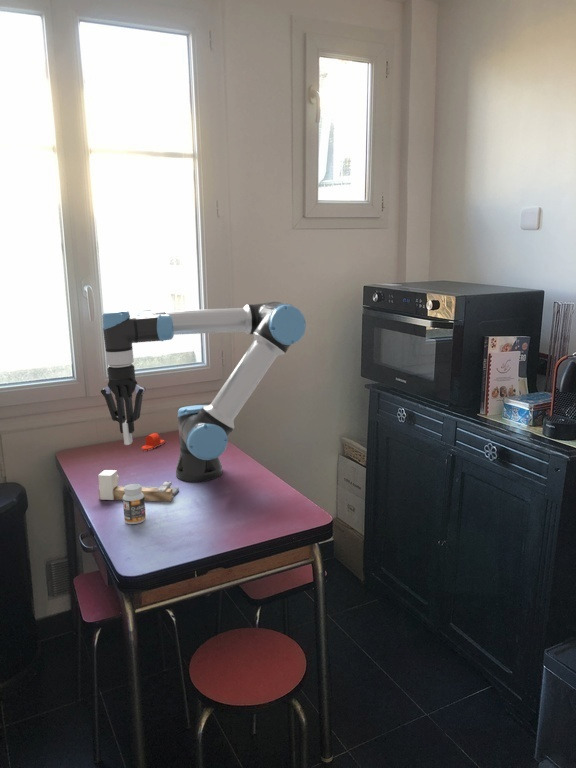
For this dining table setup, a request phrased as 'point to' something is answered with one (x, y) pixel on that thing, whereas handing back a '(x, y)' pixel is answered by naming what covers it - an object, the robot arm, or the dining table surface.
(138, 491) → the pill bottle
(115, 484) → the block
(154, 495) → the beam
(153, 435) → the bracket
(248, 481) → the dining table surface
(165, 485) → the fixed leg
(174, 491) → the hole plate
